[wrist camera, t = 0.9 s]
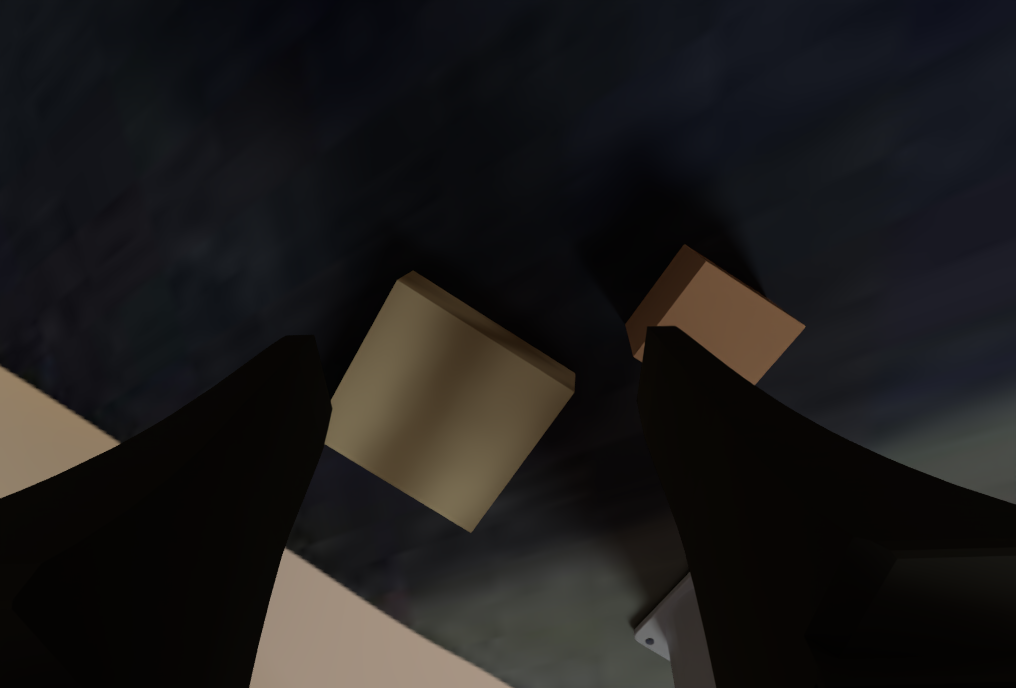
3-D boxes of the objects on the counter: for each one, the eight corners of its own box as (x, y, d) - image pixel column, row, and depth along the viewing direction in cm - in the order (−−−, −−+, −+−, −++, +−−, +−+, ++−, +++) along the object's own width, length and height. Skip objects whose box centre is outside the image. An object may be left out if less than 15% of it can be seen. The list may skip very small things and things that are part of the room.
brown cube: (766, 297, 27) (805, 326, 22) (703, 374, 28) (727, 416, 23) (684, 243, 26) (706, 261, 22) (624, 324, 28) (633, 356, 23)
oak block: (575, 370, 29) (574, 392, 26) (480, 501, 33) (471, 532, 30) (415, 268, 29) (397, 280, 26) (335, 412, 32) (311, 435, 29)
